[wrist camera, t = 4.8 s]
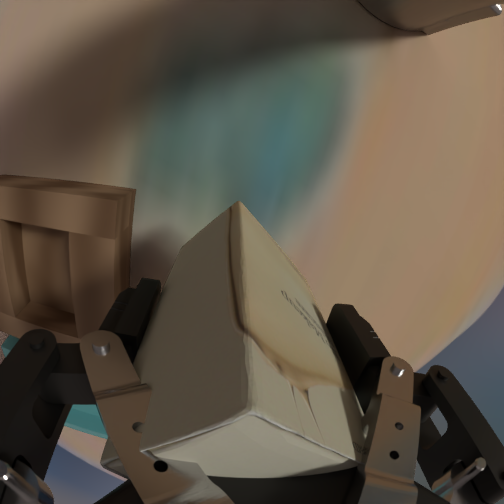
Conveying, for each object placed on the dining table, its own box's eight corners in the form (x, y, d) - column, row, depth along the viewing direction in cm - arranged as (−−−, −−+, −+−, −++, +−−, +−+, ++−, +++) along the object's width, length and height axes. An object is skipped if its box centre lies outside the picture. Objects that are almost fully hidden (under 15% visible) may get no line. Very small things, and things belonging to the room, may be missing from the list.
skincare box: (306, 278, 16) (399, 475, 5) (247, 321, 17) (272, 522, 6) (235, 194, 14) (264, 408, 3) (172, 249, 15) (93, 469, 4)
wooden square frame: (136, 189, 19) (117, 200, 15) (129, 340, 24) (119, 369, 20) (2, 174, 17) (-26, 183, 13) (15, 308, 22) (-3, 329, 18)
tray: (140, 364, 25) (133, 389, 22) (145, 425, 29) (141, 447, 26) (15, 328, 23) (0, 346, 19) (39, 394, 27) (30, 411, 23)
